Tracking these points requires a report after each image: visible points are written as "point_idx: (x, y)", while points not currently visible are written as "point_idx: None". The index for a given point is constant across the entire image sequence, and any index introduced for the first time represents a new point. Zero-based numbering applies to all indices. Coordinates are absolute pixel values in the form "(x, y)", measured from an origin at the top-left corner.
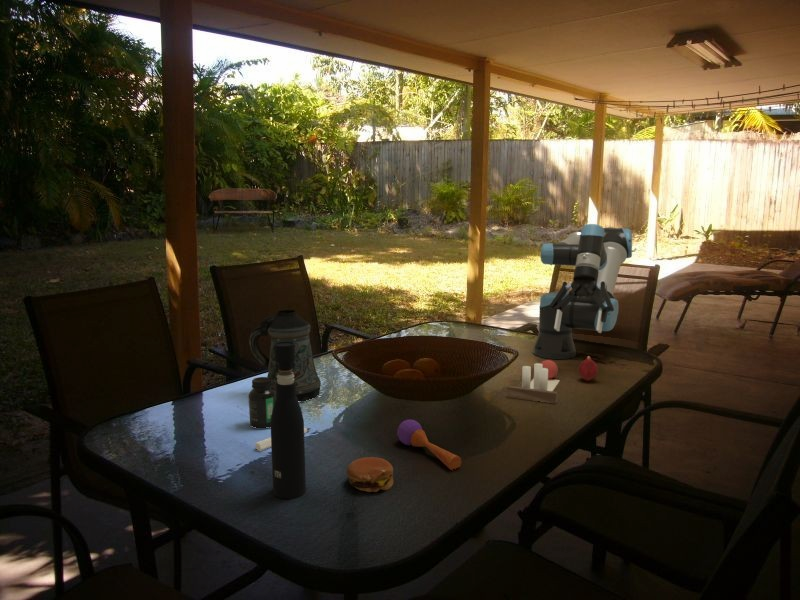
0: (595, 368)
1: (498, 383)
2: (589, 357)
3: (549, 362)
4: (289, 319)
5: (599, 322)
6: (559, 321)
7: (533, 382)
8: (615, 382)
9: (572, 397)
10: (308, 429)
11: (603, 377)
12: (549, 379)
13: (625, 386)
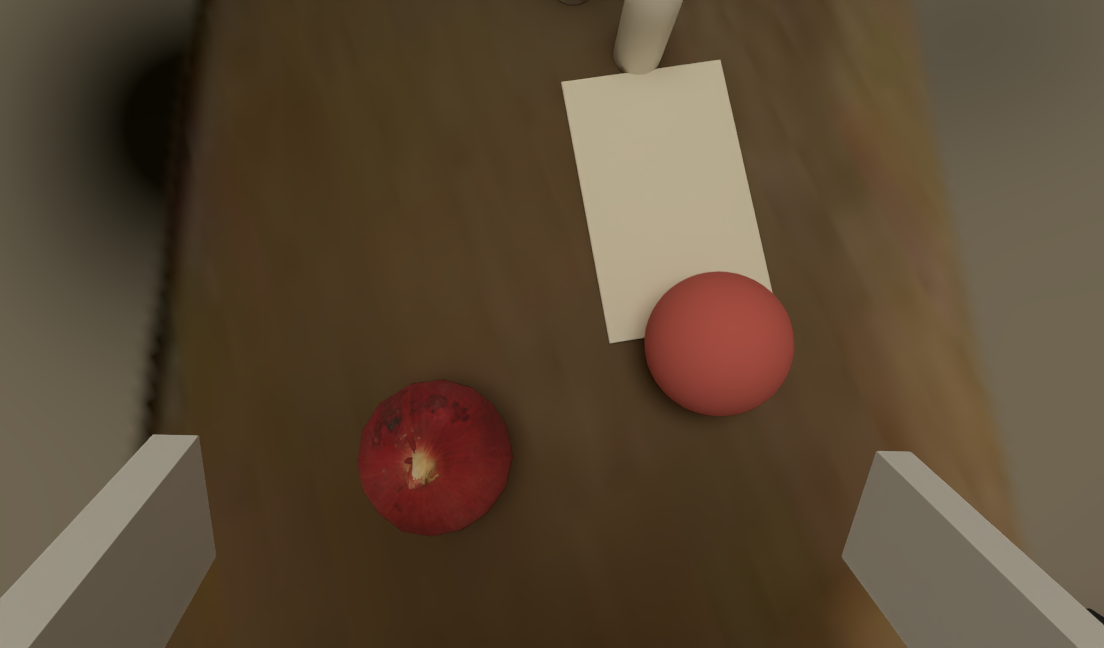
0: (363, 430)
1: (900, 82)
2: (411, 463)
3: (716, 306)
4: None
5: (68, 534)
6: (954, 635)
7: (731, 199)
8: (269, 532)
9: (428, 70)
10: None
11: (375, 610)
12: None
13: None
